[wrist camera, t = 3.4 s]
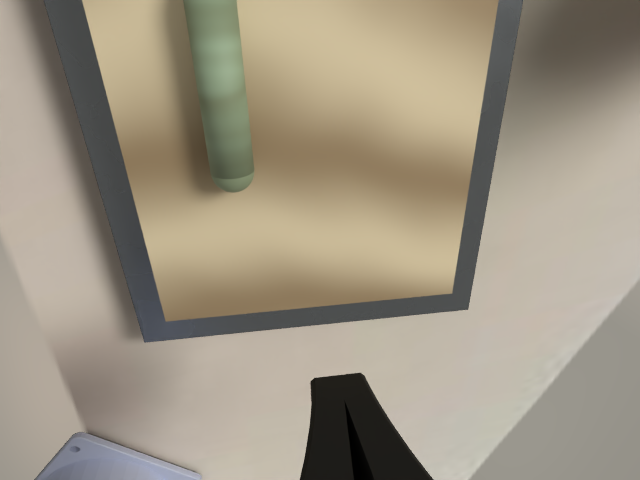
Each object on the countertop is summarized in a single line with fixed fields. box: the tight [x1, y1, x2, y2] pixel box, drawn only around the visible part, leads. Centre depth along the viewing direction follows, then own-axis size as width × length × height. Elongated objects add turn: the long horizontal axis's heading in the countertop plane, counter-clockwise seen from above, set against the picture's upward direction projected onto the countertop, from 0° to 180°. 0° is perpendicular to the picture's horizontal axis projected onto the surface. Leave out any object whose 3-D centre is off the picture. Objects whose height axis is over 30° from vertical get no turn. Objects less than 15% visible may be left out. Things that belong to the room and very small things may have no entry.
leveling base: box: [44, 0, 523, 342], centre depth 17 cm, size 16×15×2 cm
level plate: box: [82, 0, 499, 321], centre depth 15 cm, size 12×12×2 cm
